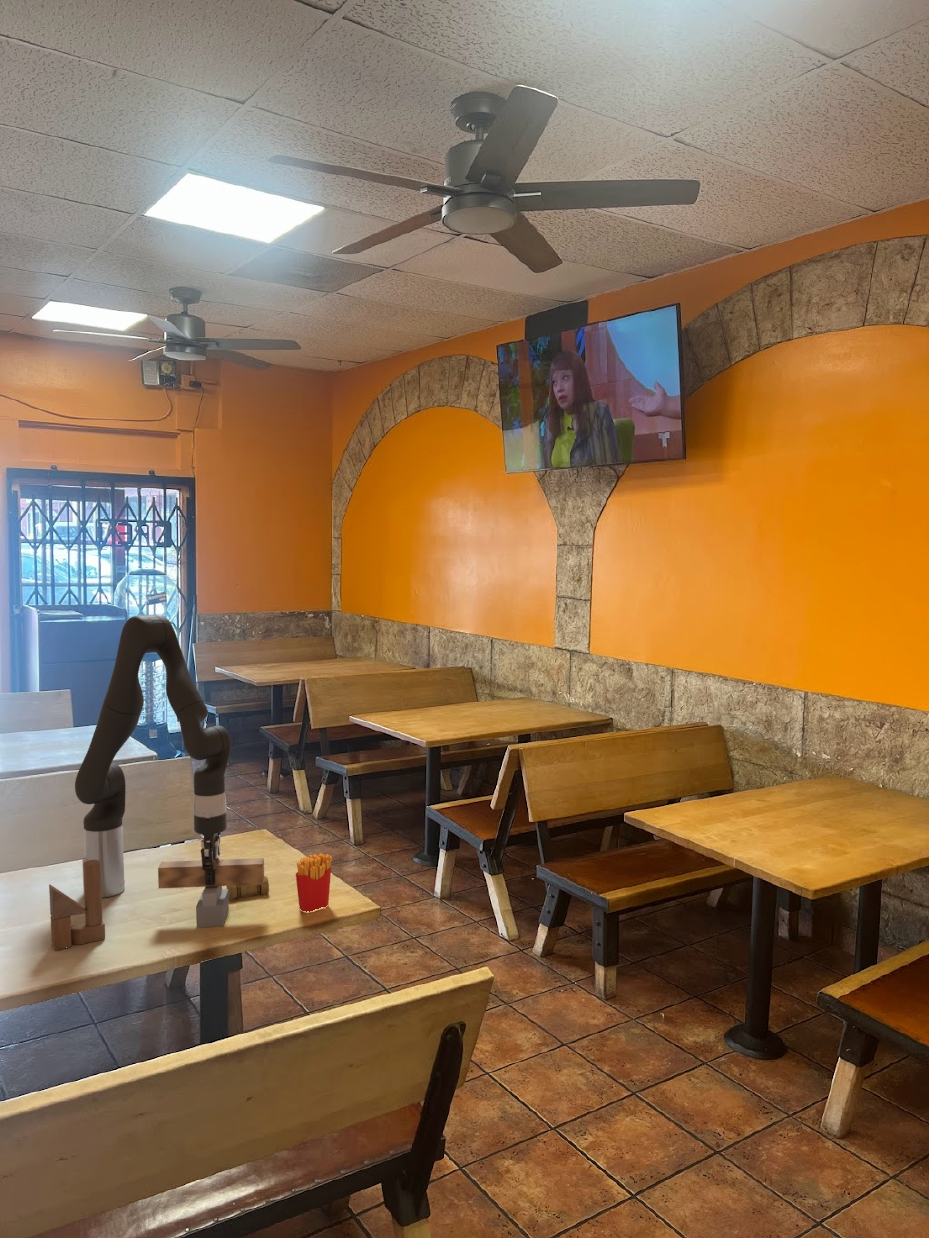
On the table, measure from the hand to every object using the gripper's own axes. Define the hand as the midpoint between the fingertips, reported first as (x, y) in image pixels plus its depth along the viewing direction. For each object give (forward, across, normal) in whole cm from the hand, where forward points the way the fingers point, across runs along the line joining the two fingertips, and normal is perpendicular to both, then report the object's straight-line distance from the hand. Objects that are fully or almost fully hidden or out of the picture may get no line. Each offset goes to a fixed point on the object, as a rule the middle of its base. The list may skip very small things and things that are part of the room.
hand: (211, 880), depth 218 cm
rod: (+1, 0, 0) cm, 1 cm away
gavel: (+10, -21, +5) cm, 24 cm away
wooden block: (+9, +10, -28) cm, 31 cm away
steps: (+9, 0, 0) cm, 9 cm away
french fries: (+9, -3, +24) cm, 26 cm away
